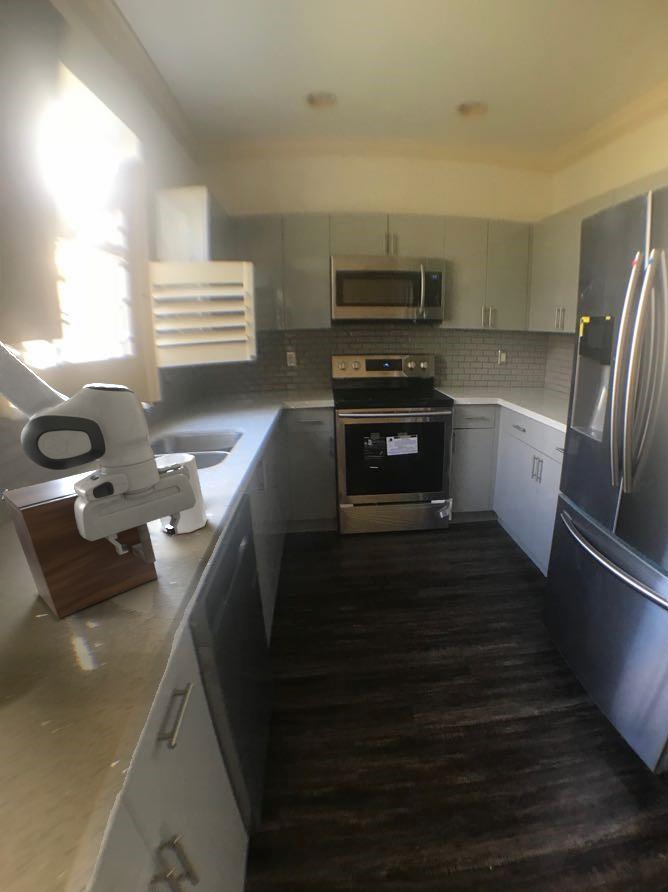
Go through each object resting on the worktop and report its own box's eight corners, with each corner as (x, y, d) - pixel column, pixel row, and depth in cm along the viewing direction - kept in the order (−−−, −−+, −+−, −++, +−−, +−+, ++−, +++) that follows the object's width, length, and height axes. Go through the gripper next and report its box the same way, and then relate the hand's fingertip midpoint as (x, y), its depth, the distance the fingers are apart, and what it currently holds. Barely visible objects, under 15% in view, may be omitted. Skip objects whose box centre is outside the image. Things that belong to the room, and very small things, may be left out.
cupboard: (155, 576, 99) (131, 478, 90) (57, 616, 86) (18, 507, 78) (132, 559, 106) (108, 467, 98) (39, 594, 93) (2, 492, 85)
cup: (166, 538, 116) (150, 469, 109) (159, 523, 124) (144, 458, 117) (212, 527, 121) (199, 460, 114) (201, 513, 130) (189, 450, 123)
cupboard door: (172, 588, 94) (149, 487, 85) (71, 634, 81) (31, 520, 73) (155, 575, 98) (131, 479, 90) (57, 616, 86) (19, 508, 78)
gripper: (178, 458, 92) (192, 520, 97) (62, 487, 78) (84, 558, 83) (194, 463, 88) (207, 528, 93) (74, 495, 74) (97, 570, 79)
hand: (148, 543), depth 88 cm, fingers open, 8 cm apart
